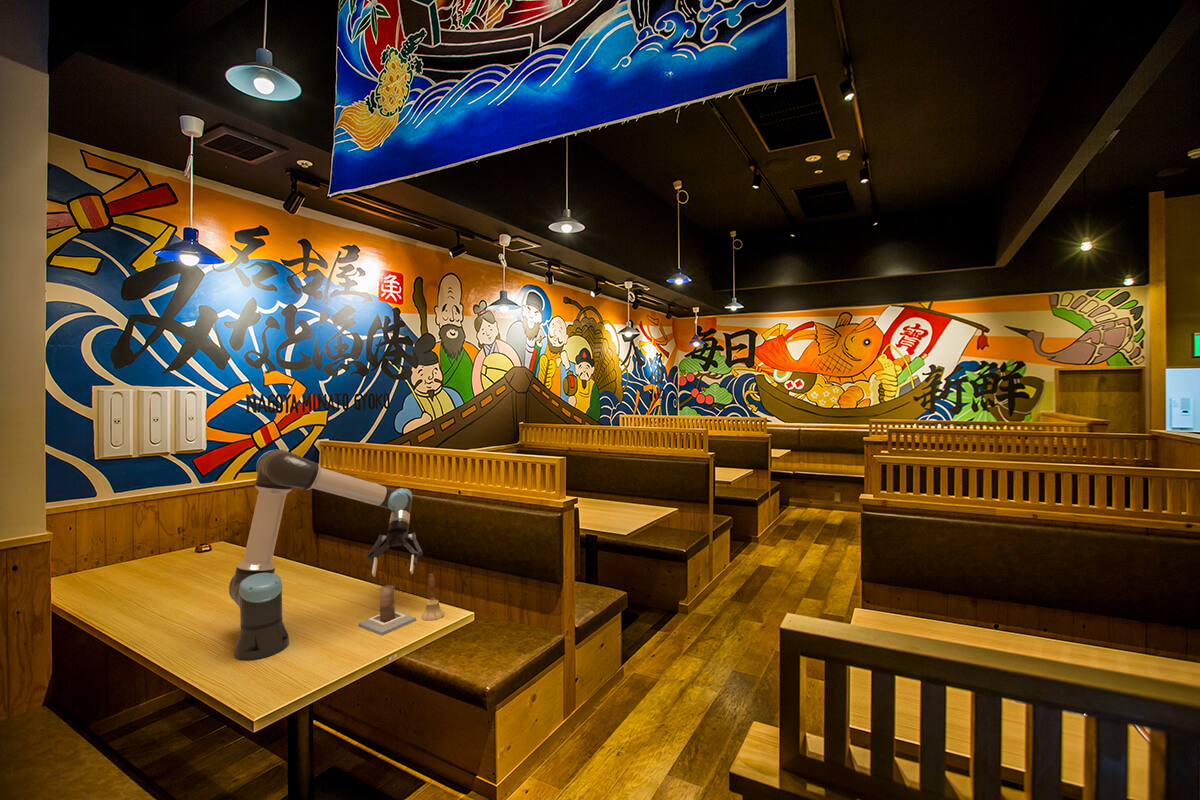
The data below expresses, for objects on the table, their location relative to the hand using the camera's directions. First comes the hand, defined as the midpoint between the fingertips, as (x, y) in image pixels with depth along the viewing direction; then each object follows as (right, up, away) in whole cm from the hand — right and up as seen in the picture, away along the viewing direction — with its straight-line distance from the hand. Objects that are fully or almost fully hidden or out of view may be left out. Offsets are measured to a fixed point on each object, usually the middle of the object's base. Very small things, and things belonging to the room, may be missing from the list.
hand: (392, 573), depth 199 cm
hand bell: (+16, -16, -1) cm, 22 cm away
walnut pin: (+1, -15, -7) cm, 16 cm away
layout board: (+1, -16, -7) cm, 17 cm away
